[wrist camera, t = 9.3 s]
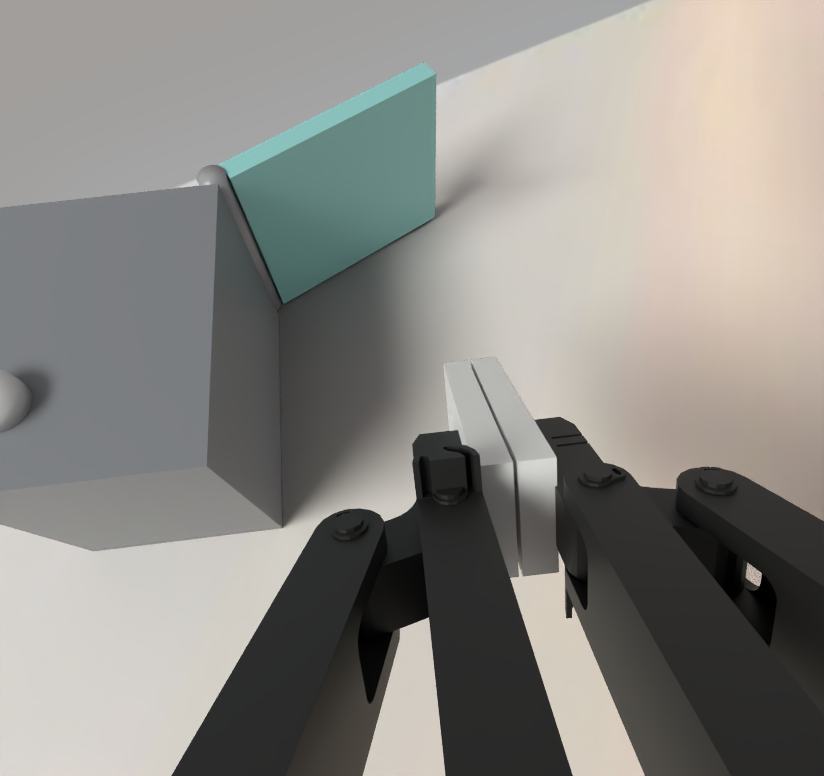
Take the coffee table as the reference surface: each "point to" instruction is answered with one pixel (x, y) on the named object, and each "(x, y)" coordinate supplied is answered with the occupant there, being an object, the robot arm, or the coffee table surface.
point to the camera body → (136, 372)
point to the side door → (335, 184)
